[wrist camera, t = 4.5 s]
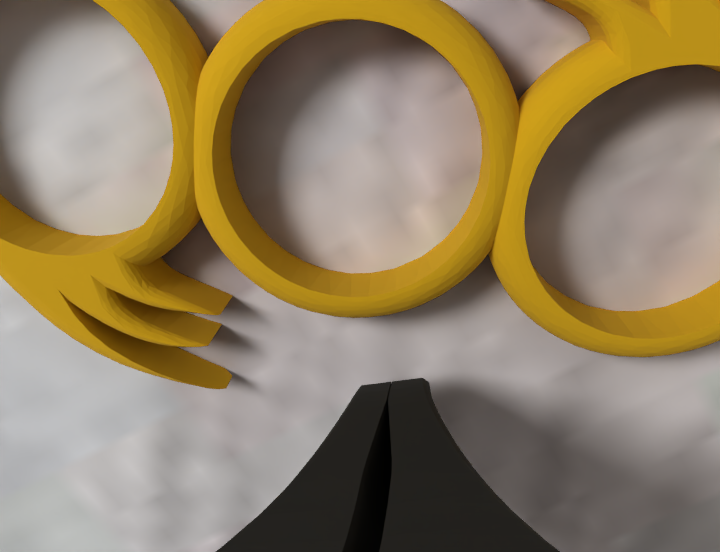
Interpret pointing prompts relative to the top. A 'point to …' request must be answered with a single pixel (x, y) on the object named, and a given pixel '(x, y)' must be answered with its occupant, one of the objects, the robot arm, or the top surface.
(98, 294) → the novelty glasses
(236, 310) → the top surface
